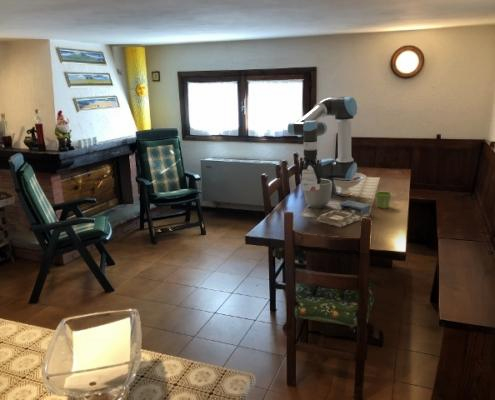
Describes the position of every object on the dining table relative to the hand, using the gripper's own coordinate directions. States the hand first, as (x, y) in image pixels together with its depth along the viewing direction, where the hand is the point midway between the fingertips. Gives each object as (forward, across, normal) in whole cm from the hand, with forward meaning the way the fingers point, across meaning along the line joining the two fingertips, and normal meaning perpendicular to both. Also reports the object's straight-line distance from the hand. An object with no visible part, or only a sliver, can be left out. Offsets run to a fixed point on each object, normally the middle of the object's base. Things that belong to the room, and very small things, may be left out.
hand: (310, 187), depth 235 cm
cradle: (+17, +17, +9) cm, 25 cm away
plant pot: (+17, +22, +41) cm, 49 cm away
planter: (+17, -8, +16) cm, 24 cm away
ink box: (+1, 0, 0) cm, 1 cm away
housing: (+15, +17, +19) cm, 30 cm away
